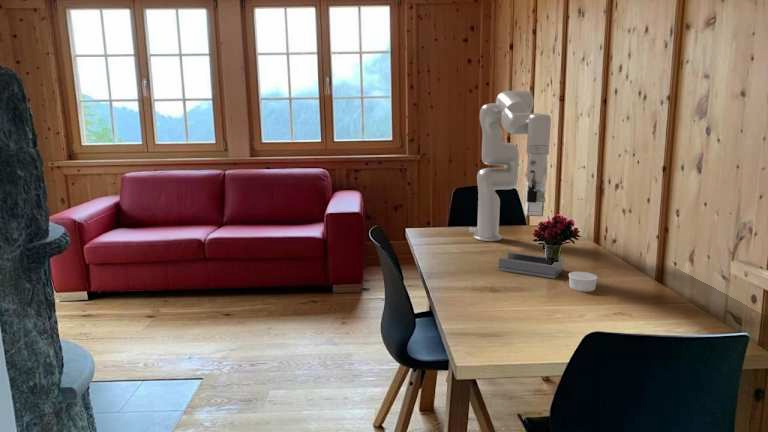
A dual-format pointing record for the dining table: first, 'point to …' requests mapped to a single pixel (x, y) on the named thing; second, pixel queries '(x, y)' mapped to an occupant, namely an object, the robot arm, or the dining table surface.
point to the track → (530, 265)
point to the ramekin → (582, 281)
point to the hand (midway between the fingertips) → (534, 200)
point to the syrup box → (537, 207)
